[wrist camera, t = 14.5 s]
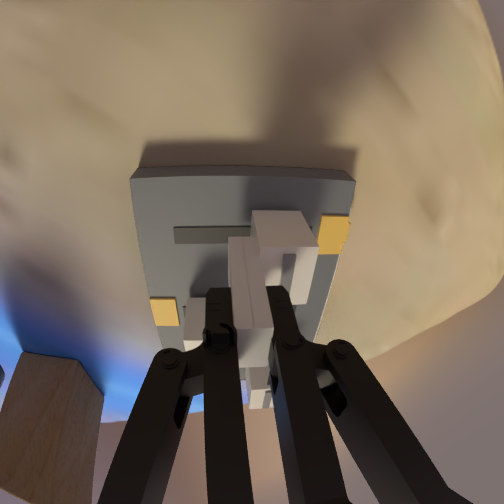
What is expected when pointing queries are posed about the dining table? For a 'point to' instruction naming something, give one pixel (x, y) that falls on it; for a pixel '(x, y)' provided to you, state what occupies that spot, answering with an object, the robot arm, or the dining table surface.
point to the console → (229, 231)
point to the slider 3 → (285, 251)
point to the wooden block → (49, 431)
